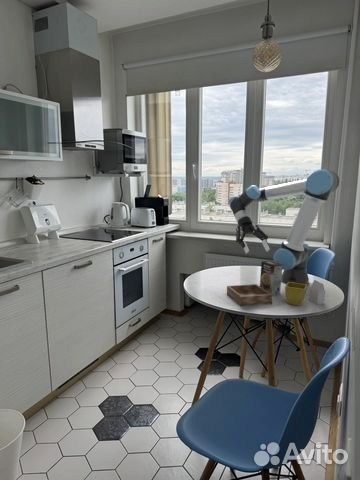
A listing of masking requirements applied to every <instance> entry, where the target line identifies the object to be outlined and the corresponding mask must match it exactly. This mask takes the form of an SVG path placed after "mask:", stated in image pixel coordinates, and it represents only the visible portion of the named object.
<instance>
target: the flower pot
mask: <svg viewBox="0 0 360 480" xmlns="http://www.w3.org/2000/svg"><path fill="white" fill-rule="evenodd" d="M285 284H286V285H285V286H284V290H285V291H284V292H285V293H284V294H285V300H286V302H287V303H288V304H289V305H293V306H298V307H300V306H301V304H302V303H303V300H304V299H305V296H306V294H307V287H308V284H300V283H294V282H288V283H285Z"/></svg>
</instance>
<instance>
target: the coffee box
mask: <svg viewBox="0 0 360 480" xmlns="http://www.w3.org/2000/svg"><path fill="white" fill-rule="evenodd" d="M282 268H283V264H280V263H277V262H274V260H270V259H269V260H262V261H261V266H260V277H259V279H260V280H259V286H260V287H262V288H263V289H265V290H266V291H268V292H269V293H271V294H272V297H275V296H279V295H281V287H282V281H281V279H282V273H283V270H282Z"/></svg>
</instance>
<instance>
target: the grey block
mask: <svg viewBox="0 0 360 480" xmlns="http://www.w3.org/2000/svg"><path fill="white" fill-rule="evenodd" d="M309 287H310V288H309V298H308V300H310V301H311V302H312V303H314V304H316V305H325V299H326V289H325V286H324V283H323V282H320V281H318V280H316V279H313V282H312V283H311V286H309Z"/></svg>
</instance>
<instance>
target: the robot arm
mask: <svg viewBox="0 0 360 480" xmlns="http://www.w3.org/2000/svg"><path fill="white" fill-rule="evenodd" d="M339 186H340V176H339V175H338V174H337V173H336V172H335V171H334V170H331V169H329V170H328V169H323V168H322V169H321V168H320V169H317V170H314V171H312V172H310V173H309V174H308V175H307V177H306V179H301V180H296V181H291V182H287V183H281V184H277V185H271V186H267V187H261V188H259V187H258V186H257V185H254V184H252V185H250V186H249V187H247V188H246V189H245V190H244V191H243V192H242V193H241V194H240V195H233V196H231V197H230V198H229V200H228V205H229V208H230V210H231V212H232V214H233V217H234V218H235V221H236V223H237V226H236V228H235V230H236V236H235V242H236V243H238V245H240V246H241V248H242V249H243V250H244V253H245V255H247V254H248V253H249V252H250V248H249V247H248V244H247V242H246V240H245V237H246V235H252V236H255V237H256V239H257V238H258V239H259V240H260V241H261V244H262V246H263V248H264V249H265V252H266V253H268V252H269V251H270V250H271V248H270V246H269V242H268V241H267V240H269V236H268V235H267V234H266V233H265V232H264V231H263V230H262V229H261V228H260V227H259V225H258V224H256V225H255V226H254V225H253V221H252V219H251V218H250V215H249V213H248V211H247V209H246V208H247V207H249V206H250V205H251V204H252V203H258V202H265V201H271V200H276V199H282V198H287V197H293V196H299V195H304V198H303V201H302V203H301V205H300V208H299V211H298V212H297V214H296V217H295V220H294V221H293V223H292V226H291V229H290V230H289V234H288V235H287V237H286V239H283V240H282V242H281V245H280V246H279V248H278V249H277V250H276V251H275V252H274V254H273V261H274V262H277V263H280V264H283V268H282V279H281V283H282V282H283V283H284V284H287V283H288V282H294V283H300V284H307V285H308V284H309V282H310V278H309V275H308V274H309V273H308V271H307V269H308V268H307V267H308V257H309V250H310V249H309V243H305V242H306V239H307V238H308V235H309V233H310V230H312V226H313V224H314V223H315V222H314V221H315V220H316V218H317V216H318V214H319V211H320V209H321V207H322V205H323V203H326V202H327V201H328V199H329V197H330V195H331V193H333V192H335V191H336V190H337V189H338V188H339Z"/></svg>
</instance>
